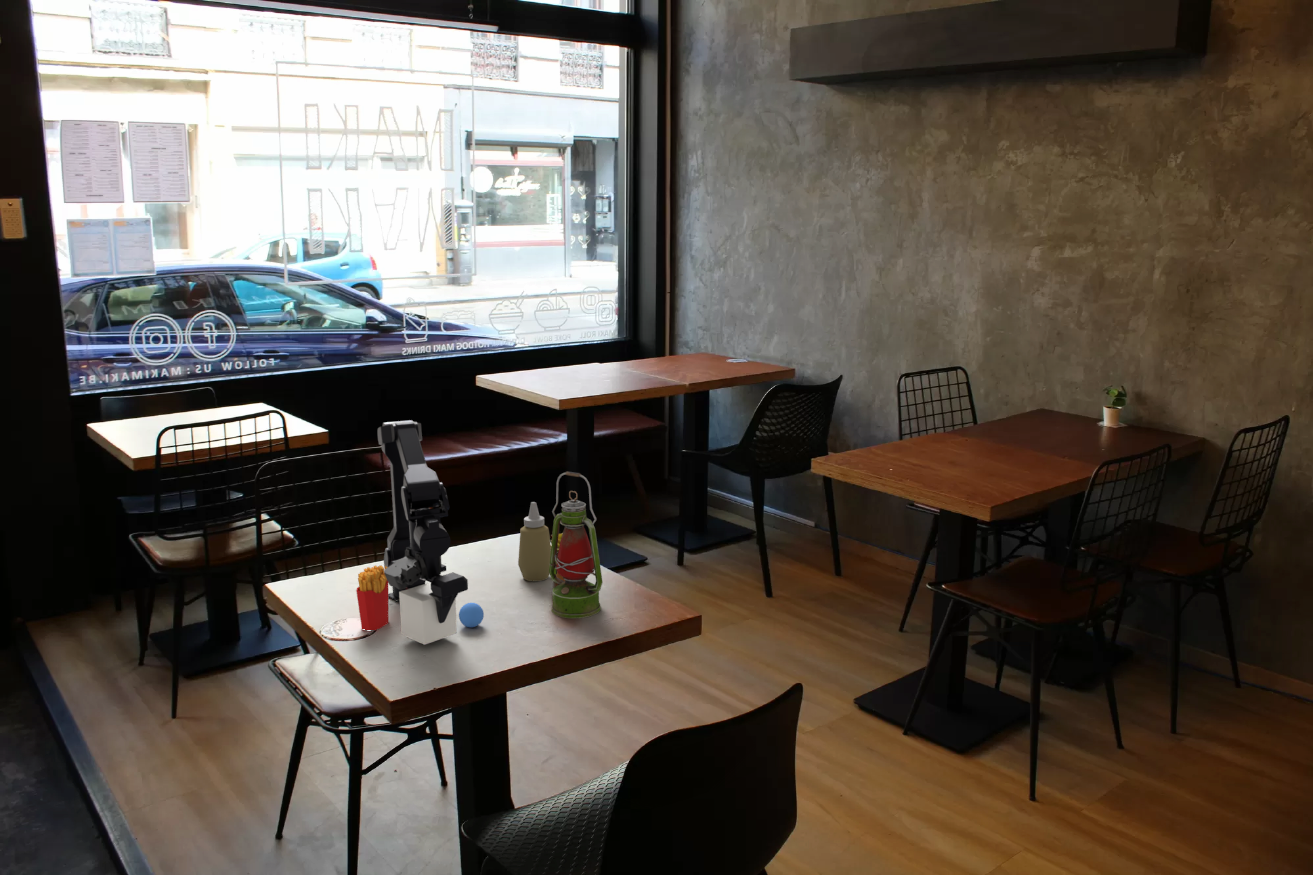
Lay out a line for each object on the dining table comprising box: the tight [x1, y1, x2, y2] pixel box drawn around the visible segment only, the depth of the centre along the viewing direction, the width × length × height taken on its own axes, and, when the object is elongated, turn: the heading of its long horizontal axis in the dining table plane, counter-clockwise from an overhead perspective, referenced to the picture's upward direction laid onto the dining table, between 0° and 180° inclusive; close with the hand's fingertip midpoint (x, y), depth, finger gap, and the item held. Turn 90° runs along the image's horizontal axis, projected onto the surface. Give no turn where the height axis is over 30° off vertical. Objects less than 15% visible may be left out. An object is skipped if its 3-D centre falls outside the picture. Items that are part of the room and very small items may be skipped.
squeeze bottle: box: [517, 501, 552, 582], centre depth 242 cm, size 8×8×18 cm
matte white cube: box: [399, 582, 458, 645], centre depth 208 cm, size 8×8×9 cm
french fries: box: [355, 564, 390, 631], centre depth 216 cm, size 8×4×12 cm, turn 158°
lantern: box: [549, 471, 603, 619], centre depth 222 cm, size 14×11×30 cm
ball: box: [458, 602, 485, 628], centre depth 216 cm, size 5×5×5 cm
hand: (429, 617), depth 208 cm, fingers closed on matte white cube, 8 cm apart
